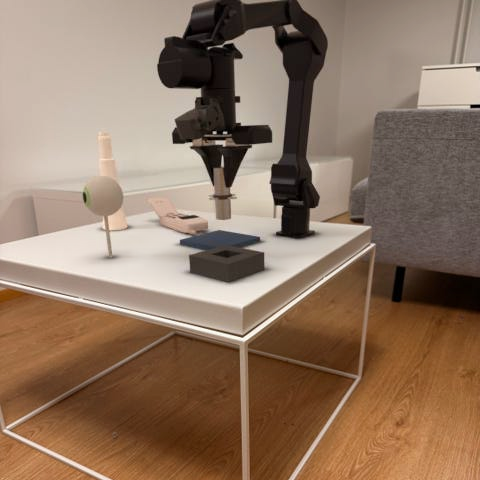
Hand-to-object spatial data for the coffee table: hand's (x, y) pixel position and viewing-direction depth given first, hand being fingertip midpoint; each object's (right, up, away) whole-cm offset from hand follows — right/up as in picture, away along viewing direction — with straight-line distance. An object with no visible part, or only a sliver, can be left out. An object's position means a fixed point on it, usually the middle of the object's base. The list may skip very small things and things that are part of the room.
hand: (222, 187), depth 83 cm
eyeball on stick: (-22, -12, +6) cm, 25 cm away
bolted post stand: (0, -5, +2) cm, 6 cm away
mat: (-1, -8, +15) cm, 17 cm away
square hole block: (+1, -15, -4) cm, 16 cm away
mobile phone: (-12, -1, +31) cm, 34 cm away
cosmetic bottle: (-28, -1, +32) cm, 42 cm away
